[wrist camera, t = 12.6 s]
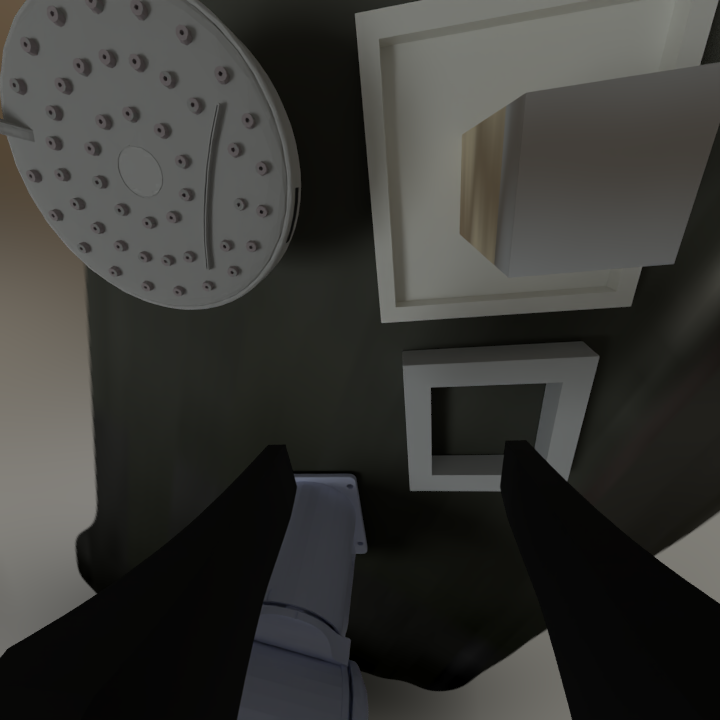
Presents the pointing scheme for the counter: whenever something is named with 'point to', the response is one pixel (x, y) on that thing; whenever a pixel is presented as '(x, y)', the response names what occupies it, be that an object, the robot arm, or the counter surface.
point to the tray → (469, 108)
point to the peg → (590, 173)
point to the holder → (496, 367)
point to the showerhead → (151, 145)
